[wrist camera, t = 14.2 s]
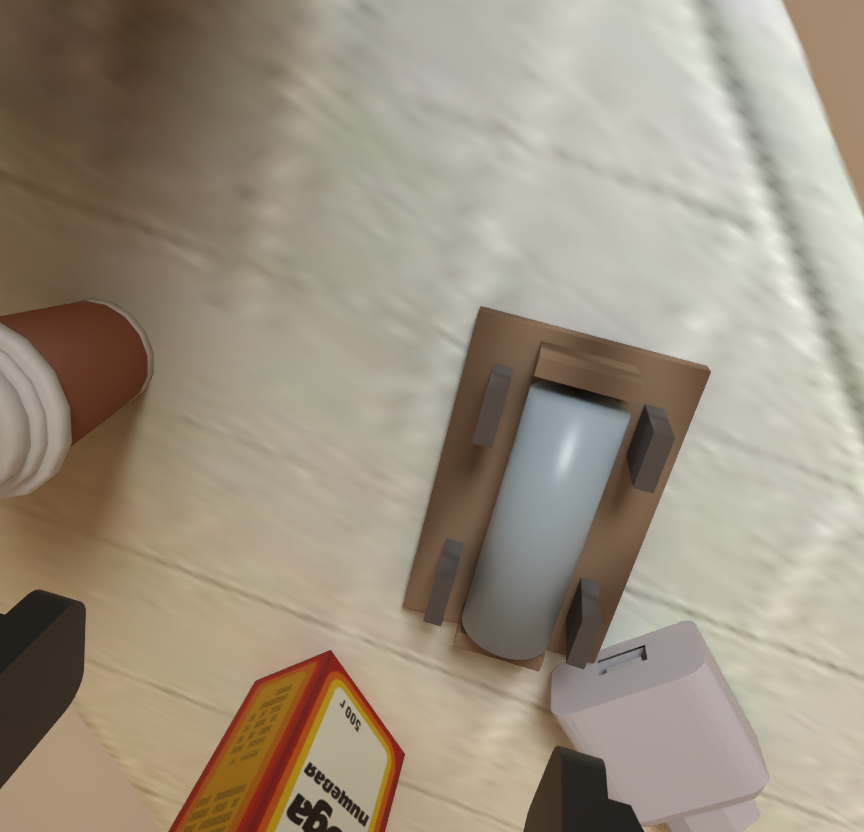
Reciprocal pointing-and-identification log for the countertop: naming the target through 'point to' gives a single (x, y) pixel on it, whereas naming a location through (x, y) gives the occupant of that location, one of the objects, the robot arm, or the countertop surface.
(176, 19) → the countertop surface
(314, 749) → the baking soda box
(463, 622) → the cylinder
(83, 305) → the coffee cup
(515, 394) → the walnut holder
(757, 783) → the charger
